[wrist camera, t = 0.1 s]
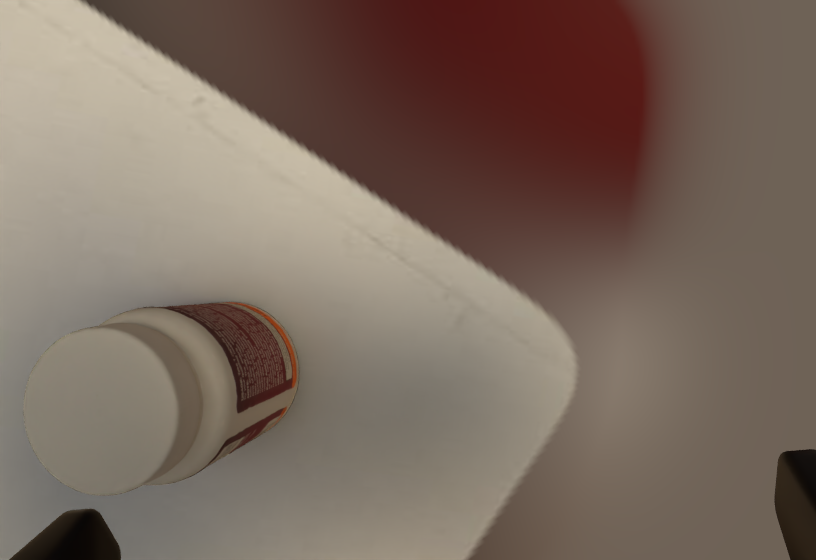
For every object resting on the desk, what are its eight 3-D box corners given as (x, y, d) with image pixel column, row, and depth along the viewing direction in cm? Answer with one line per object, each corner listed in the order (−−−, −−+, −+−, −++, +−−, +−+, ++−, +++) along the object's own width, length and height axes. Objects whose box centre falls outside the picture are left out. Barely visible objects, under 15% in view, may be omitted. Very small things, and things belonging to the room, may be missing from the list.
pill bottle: (191, 284, 26) (34, 285, 18) (318, 324, 25) (216, 344, 17) (155, 414, 26) (-17, 475, 18) (280, 458, 26) (161, 541, 17)
